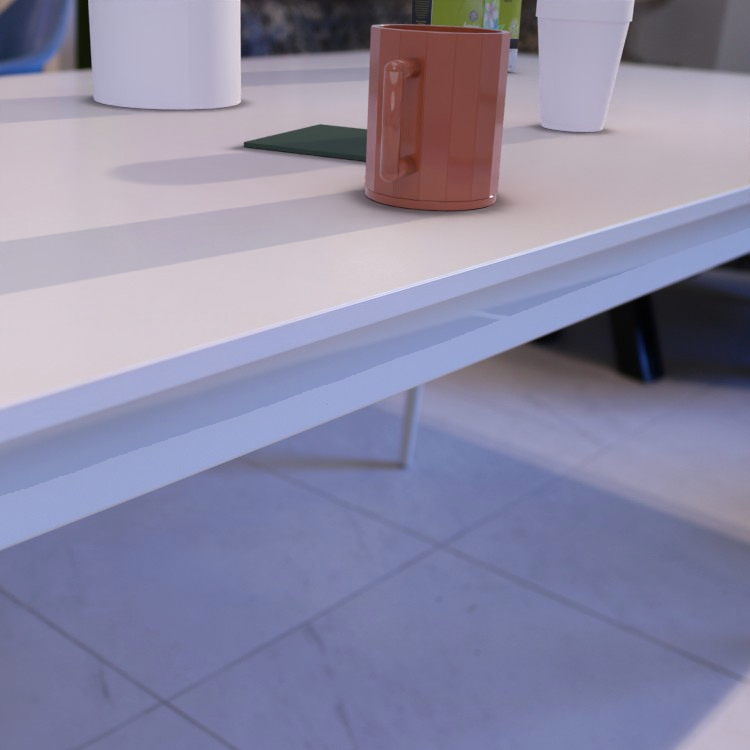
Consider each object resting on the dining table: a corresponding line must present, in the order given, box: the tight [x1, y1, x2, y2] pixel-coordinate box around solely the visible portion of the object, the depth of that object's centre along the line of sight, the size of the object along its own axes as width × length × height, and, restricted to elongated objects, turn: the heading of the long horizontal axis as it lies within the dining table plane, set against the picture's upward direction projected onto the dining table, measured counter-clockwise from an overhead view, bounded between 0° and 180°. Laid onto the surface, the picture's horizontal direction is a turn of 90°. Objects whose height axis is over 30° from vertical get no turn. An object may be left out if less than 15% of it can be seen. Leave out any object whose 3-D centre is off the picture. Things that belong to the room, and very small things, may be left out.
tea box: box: [410, 0, 523, 72], centre depth 167 cm, size 15×10×15 cm, turn 46°
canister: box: [87, 0, 242, 111], centre depth 113 cm, size 16×16×20 cm
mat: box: [243, 123, 367, 162], centre depth 92 cm, size 14×14×1 cm
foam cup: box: [535, 0, 636, 133], centre depth 106 cm, size 10×9×13 cm
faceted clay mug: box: [364, 23, 511, 212], centre depth 69 cm, size 12×9×11 cm
